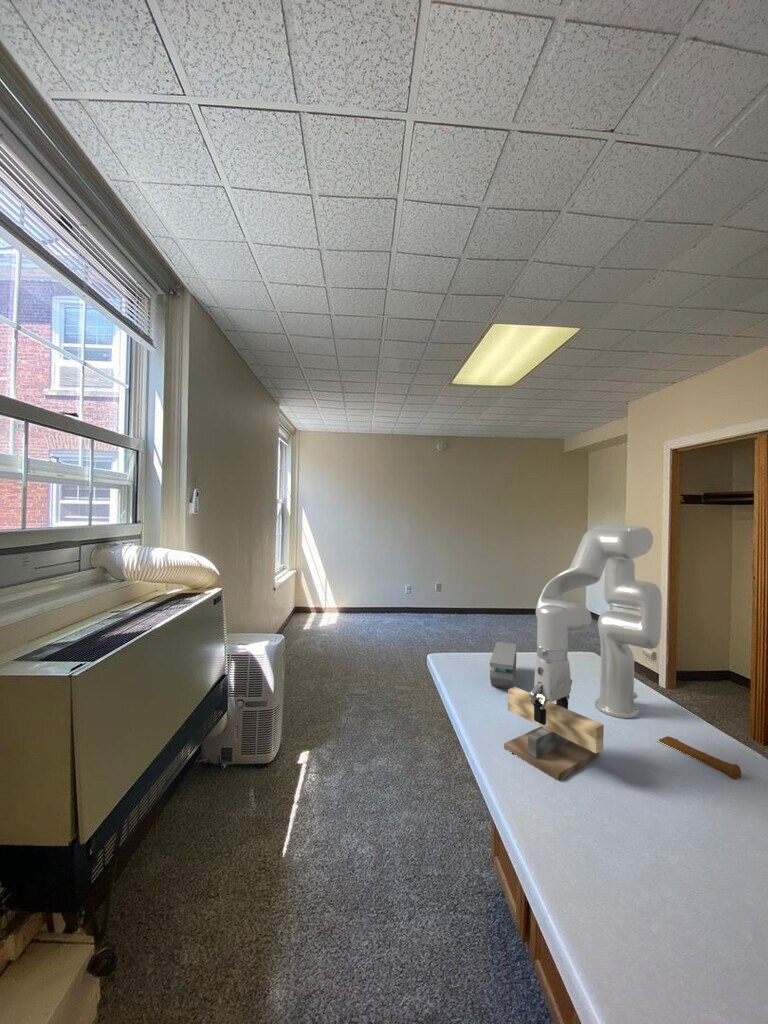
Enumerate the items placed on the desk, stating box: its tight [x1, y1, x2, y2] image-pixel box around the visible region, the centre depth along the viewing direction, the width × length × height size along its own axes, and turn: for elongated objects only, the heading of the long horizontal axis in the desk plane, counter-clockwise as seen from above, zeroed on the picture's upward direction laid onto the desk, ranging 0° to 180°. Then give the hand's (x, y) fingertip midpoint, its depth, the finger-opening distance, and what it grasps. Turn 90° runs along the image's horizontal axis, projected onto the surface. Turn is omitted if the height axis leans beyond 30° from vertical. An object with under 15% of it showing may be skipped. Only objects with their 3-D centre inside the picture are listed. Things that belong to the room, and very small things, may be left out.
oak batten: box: [507, 686, 605, 753], centre depth 112 cm, size 26×3×6 cm, turn 34°
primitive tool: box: [659, 735, 742, 780], centre depth 111 cm, size 19×6×4 cm, turn 23°
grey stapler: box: [489, 641, 517, 689], centre depth 158 cm, size 25×8×11 cm, turn 160°
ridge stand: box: [503, 726, 600, 781], centre depth 112 cm, size 18×16×6 cm
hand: (551, 717), depth 112 cm, fingers open, 9 cm apart
